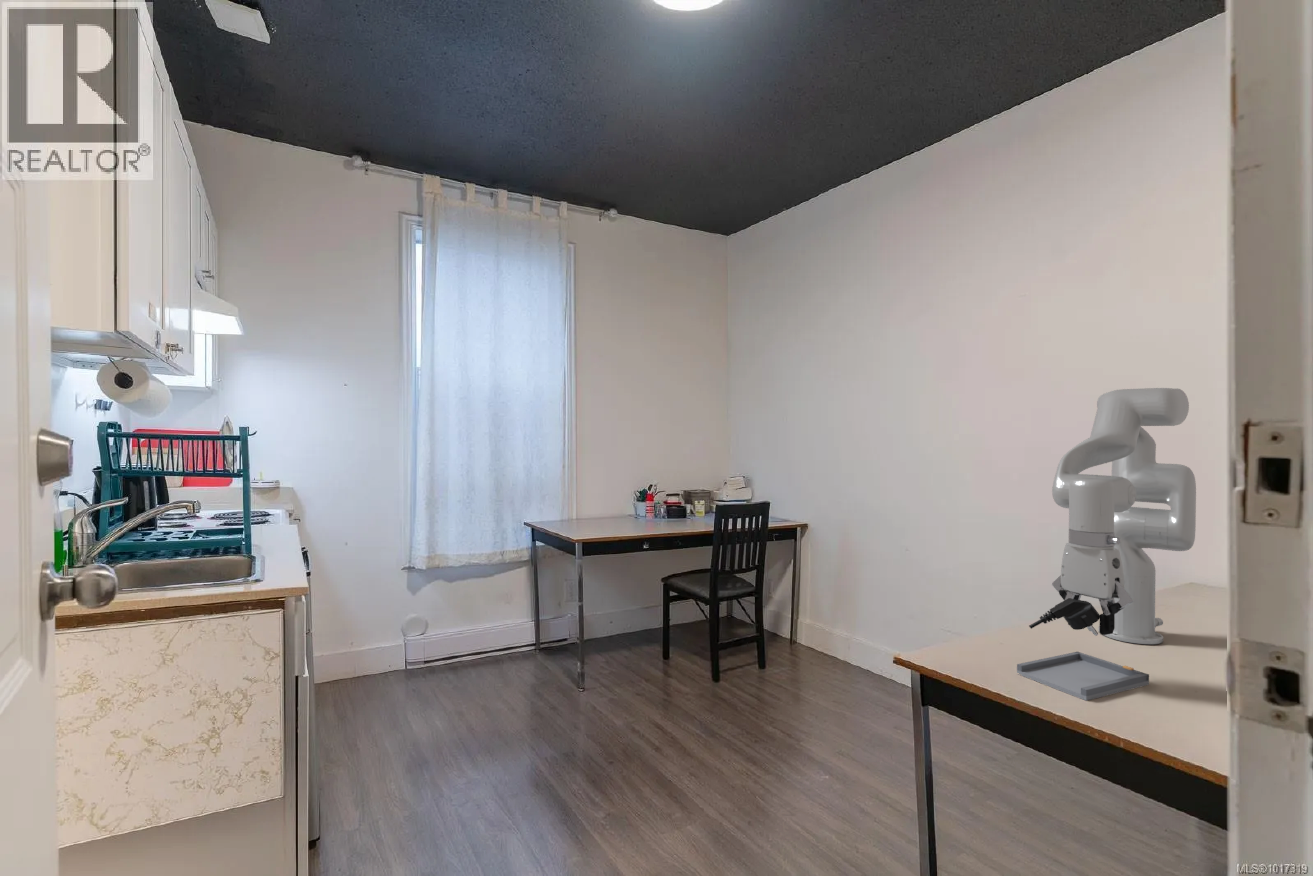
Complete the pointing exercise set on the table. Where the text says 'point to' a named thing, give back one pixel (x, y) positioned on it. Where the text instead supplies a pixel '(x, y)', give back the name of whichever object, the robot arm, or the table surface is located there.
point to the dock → (1083, 675)
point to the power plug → (1072, 614)
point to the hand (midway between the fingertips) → (1090, 628)
